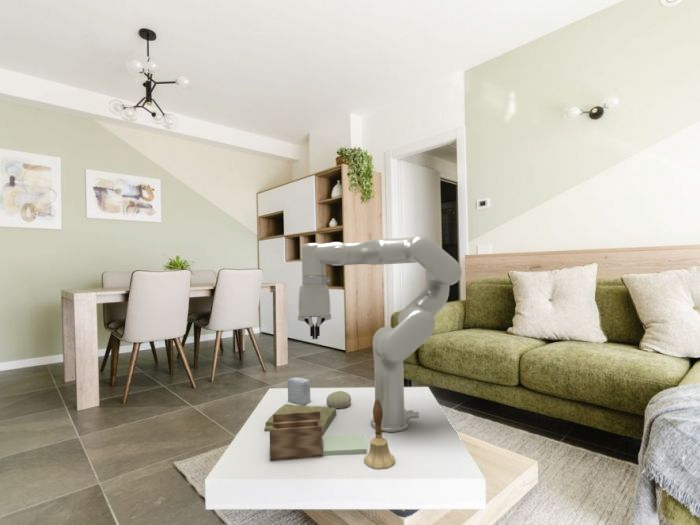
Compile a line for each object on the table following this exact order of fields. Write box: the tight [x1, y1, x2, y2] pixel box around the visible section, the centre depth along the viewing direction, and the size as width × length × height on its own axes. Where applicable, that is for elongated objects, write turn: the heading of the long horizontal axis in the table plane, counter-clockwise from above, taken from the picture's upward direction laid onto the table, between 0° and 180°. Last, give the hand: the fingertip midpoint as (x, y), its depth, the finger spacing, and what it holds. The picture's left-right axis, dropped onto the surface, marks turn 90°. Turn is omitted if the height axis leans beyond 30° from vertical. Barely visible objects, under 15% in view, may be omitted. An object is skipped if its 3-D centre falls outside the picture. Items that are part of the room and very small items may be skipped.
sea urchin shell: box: [326, 390, 352, 409], centre depth 138 cm, size 9×8×8 cm
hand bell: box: [363, 399, 396, 470], centre depth 97 cm, size 8×8×16 cm
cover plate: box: [322, 433, 368, 457], centre depth 105 cm, size 12×9×2 cm
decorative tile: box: [263, 403, 337, 437], centre depth 122 cm, size 19×20×4 cm
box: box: [269, 411, 323, 462], centre depth 104 cm, size 14×11×8 cm
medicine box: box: [287, 376, 311, 406], centre depth 142 cm, size 8×4×9 cm, turn 58°
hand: (315, 338), depth 118 cm, fingers closed
